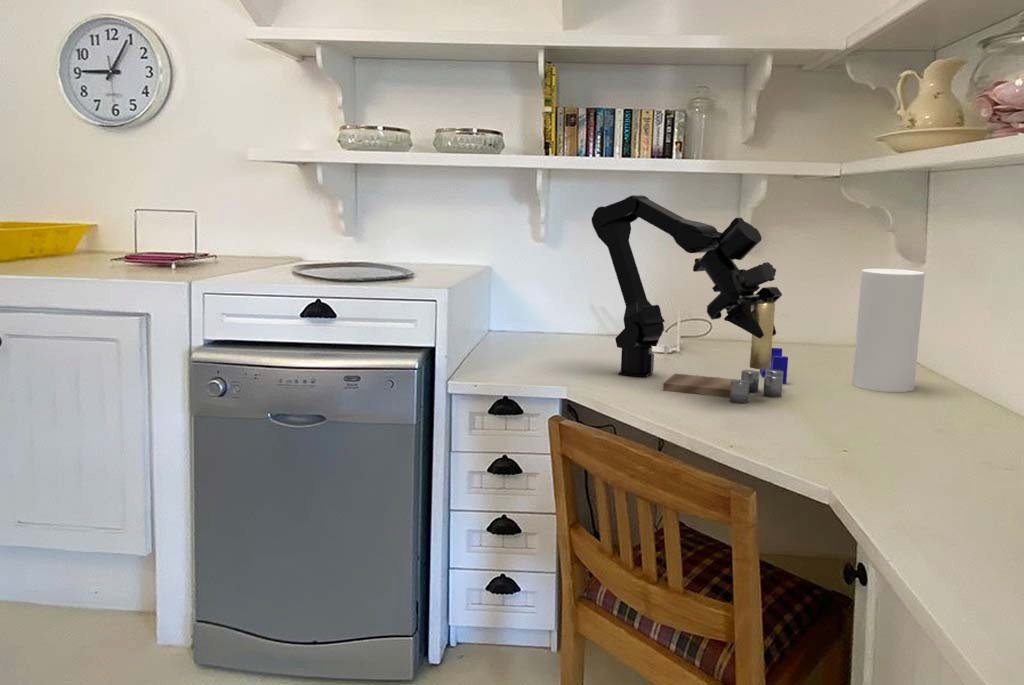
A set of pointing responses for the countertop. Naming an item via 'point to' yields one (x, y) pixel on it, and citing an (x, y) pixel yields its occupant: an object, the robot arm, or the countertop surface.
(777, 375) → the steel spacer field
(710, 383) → the brown wooden board
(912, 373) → the cylinder
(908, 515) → the countertop surface
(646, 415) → the countertop surface
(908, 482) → the countertop surface
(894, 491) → the countertop surface
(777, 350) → the cable clip
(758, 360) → the cylinder
